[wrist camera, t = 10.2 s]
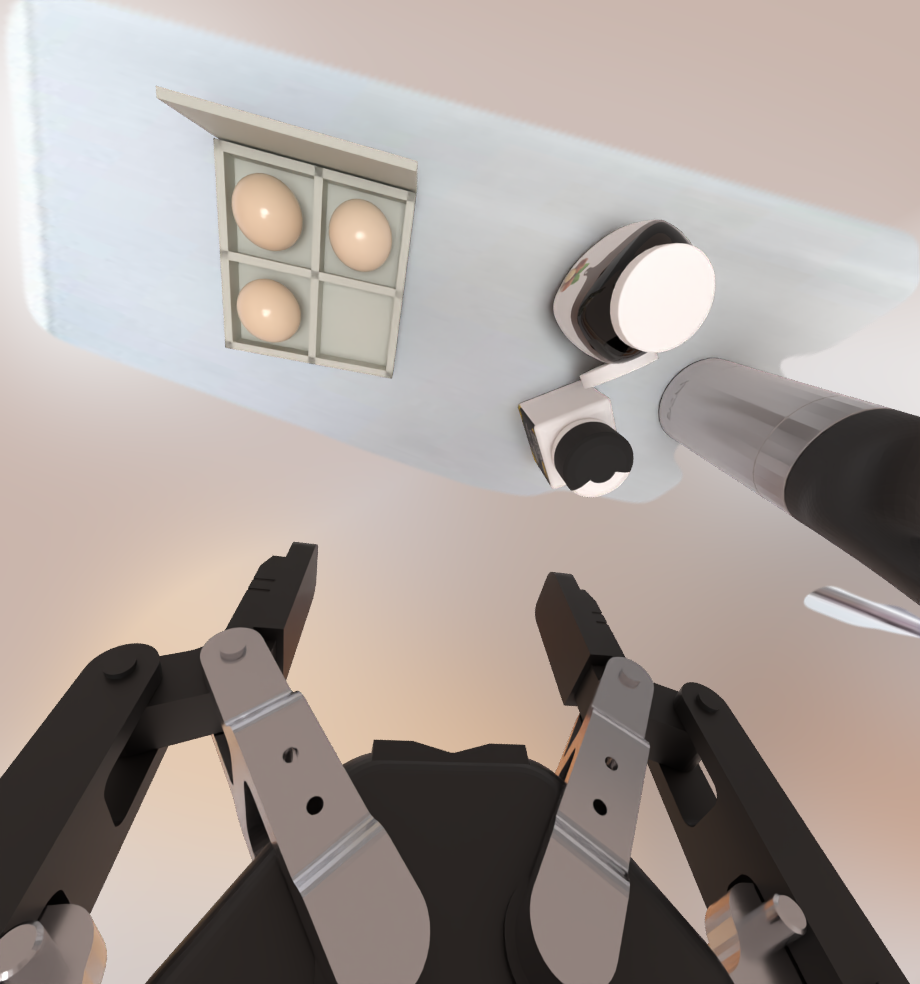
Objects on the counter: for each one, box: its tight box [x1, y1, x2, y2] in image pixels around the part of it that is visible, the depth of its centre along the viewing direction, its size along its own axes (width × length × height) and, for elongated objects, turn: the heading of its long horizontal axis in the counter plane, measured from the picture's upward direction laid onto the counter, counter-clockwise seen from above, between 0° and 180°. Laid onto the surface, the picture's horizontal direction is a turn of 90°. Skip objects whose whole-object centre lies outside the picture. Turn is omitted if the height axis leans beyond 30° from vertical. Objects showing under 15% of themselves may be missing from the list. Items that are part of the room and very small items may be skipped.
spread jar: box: [553, 220, 715, 389], centre depth 34 cm, size 12×11×12 cm
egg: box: [237, 279, 301, 343], centre depth 33 cm, size 5×5×5 cm
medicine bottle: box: [518, 380, 633, 497], centre depth 38 cm, size 7×7×12 cm
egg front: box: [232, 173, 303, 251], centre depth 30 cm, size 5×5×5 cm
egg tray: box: [156, 86, 417, 379], centre depth 30 cm, size 14×15×10 cm
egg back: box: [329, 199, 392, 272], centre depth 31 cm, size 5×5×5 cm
